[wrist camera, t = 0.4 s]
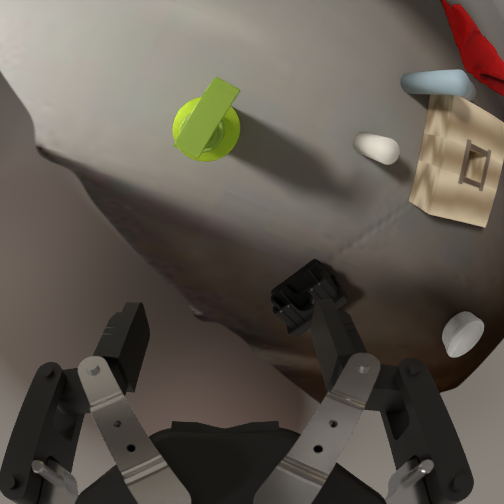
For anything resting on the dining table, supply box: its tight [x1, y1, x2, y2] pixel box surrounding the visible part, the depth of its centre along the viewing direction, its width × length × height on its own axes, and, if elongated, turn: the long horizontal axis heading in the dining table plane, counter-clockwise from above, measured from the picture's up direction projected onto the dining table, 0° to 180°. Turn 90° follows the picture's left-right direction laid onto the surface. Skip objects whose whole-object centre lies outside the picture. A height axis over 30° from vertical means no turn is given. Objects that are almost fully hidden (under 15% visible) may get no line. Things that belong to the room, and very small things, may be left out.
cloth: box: [441, 0, 504, 96], centre depth 28 cm, size 26×14×2 cm, turn 42°
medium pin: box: [353, 132, 400, 165], centre depth 34 cm, size 3×3×8 cm
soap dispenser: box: [173, 77, 240, 162], centre depth 26 cm, size 6×7×20 cm
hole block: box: [409, 94, 504, 227], centre depth 35 cm, size 18×14×6 cm
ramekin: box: [442, 311, 484, 357], centre depth 53 cm, size 11×11×5 cm
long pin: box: [401, 70, 471, 96], centre depth 27 cm, size 3×3×12 cm
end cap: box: [271, 259, 349, 337], centre depth 44 cm, size 10×7×7 cm
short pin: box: [460, 81, 476, 101], centre depth 31 cm, size 3×3×5 cm
